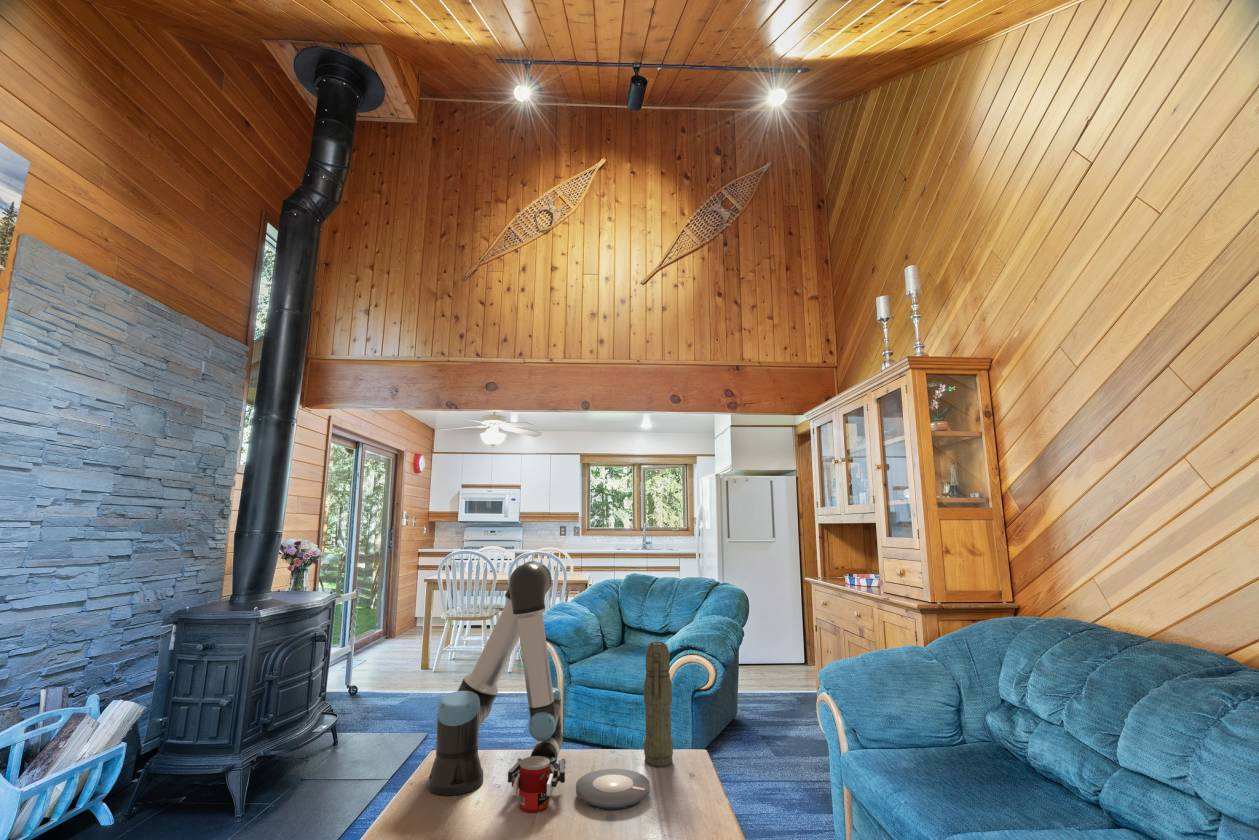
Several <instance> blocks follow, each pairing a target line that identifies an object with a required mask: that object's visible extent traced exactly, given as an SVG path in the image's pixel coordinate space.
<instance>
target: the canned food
mask: <svg viewBox="0 0 1259 840" xmlns="http://www.w3.org/2000/svg"><path fill="white" fill-rule="evenodd" d="M530 756H531V755H530ZM530 756H528V757H524V758H521V759H522V760H521V761H520V774H519V789H518V806H519V809H520V810H521V812H524V813H527V814H528V813H529V814H537V813H542V812H544V811H546V810H547V809H548V808H549V804H550V796H547V782H548V779H549V777H550V760H549V759H548V758H546V757H542V756H531V757H530Z"/></svg>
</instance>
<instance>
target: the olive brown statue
mask: <svg viewBox="0 0 1259 840" xmlns="http://www.w3.org/2000/svg"><path fill="white" fill-rule="evenodd" d="M670 665H671V664H670V651H669V648H668V645H667V644H666V643H665V642H661V641H654V642H649V644H647V647H646V650H645V670H646V671H645V672H646V673H645V679H644V682H643V703H644V705H645V737H644V740H643V749H644V750H643V751H644V753H643V754H644V764H645V765H646V766H648V767H651V768H658V769H659V768H661V769H662V768H667V767H670V766H672V765H673V763H674V762H673V754H674V751H673V750H674V743H673V739H672V726H671V725H672V716H671V715H672V714H671V712H672V711H671V710H672V709H671V705H672V703H673V685H672V680H671V675H670V670H671V669H670V668H671V667H670ZM671 764H672V765H671Z"/></svg>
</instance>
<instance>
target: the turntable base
mask: <svg viewBox="0 0 1259 840" xmlns="http://www.w3.org/2000/svg"><path fill="white" fill-rule="evenodd" d="M641 802H642V801H640V802H638V803H635V804H632V805H628V806H621V807H602V806H596V805H592V804H589V803H586V802H584V803H585V804H586V805H587V806H589V807H590V808H594V809H596V810H599V811H600V810H601V811H610V812H611V811H624V810H627V809H631V808H633V807H636V806H637V805H639V804H640V803H641Z"/></svg>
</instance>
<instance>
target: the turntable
mask: <svg viewBox="0 0 1259 840" xmlns="http://www.w3.org/2000/svg"><path fill="white" fill-rule="evenodd" d="M650 783H651V782H650V781H649V779H648V777H646V776H645V775H644V774H642V773H639V772H637V771H634V770H630V769H624V768H603V769H599V770H593V771H590V772H588V773H586V774H584V775H583V776H580V777H579V778H578V780H577V781H576V783H575V793H576V796H577V798H578V799H580V800H581V801H583V802H584V803H585V802H586V803H589V804H592V805H596V806H602V807H621V806H628V805H632V804H635V803H638V802H640V801H641V802H642V801H644V800H645V799H646V798H647V797H648V796H649V794H650V792H651V791H650V790H651V788H650V785H651V784H650ZM641 802H640V803H641ZM586 803H585V804H586Z"/></svg>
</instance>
